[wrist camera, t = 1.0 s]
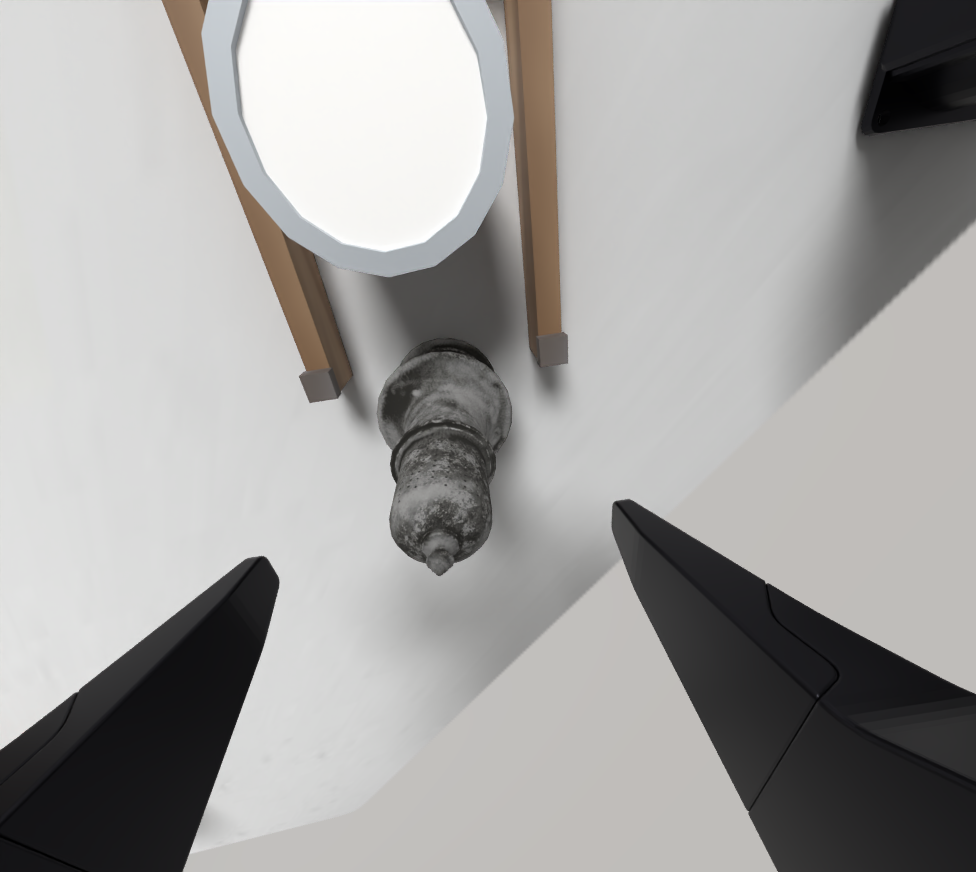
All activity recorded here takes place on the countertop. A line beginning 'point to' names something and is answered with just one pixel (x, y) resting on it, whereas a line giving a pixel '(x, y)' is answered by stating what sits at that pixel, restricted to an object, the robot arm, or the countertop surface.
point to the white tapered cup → (364, 121)
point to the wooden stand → (536, 194)
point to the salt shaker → (443, 449)
